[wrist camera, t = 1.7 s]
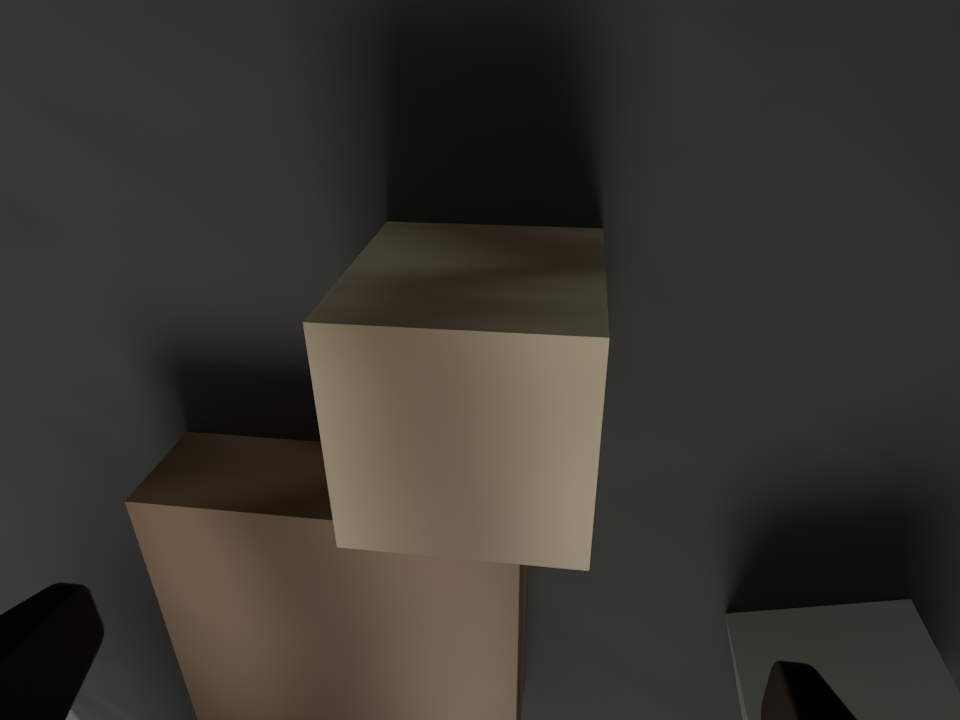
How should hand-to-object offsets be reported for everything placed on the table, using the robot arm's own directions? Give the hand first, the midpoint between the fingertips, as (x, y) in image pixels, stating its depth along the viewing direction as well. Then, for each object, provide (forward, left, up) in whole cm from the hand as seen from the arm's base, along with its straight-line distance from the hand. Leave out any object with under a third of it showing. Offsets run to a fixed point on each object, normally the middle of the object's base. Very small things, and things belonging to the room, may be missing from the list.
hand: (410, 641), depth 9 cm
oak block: (0, 0, -9) cm, 9 cm away
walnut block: (+4, +9, -10) cm, 14 cm away
